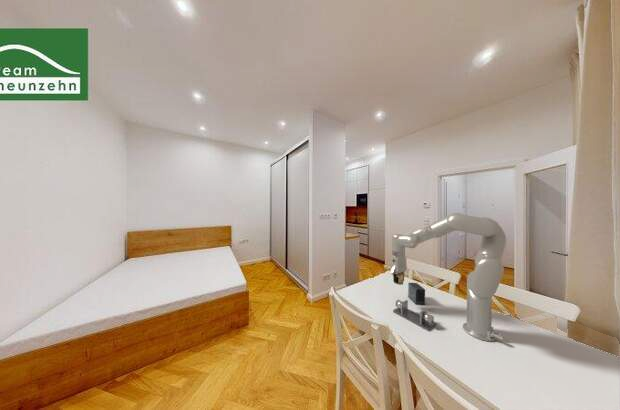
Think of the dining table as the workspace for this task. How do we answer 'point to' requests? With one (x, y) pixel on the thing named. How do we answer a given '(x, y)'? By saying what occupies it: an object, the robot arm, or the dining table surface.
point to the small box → (416, 293)
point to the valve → (400, 278)
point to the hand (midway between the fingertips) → (398, 281)
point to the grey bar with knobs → (415, 315)
